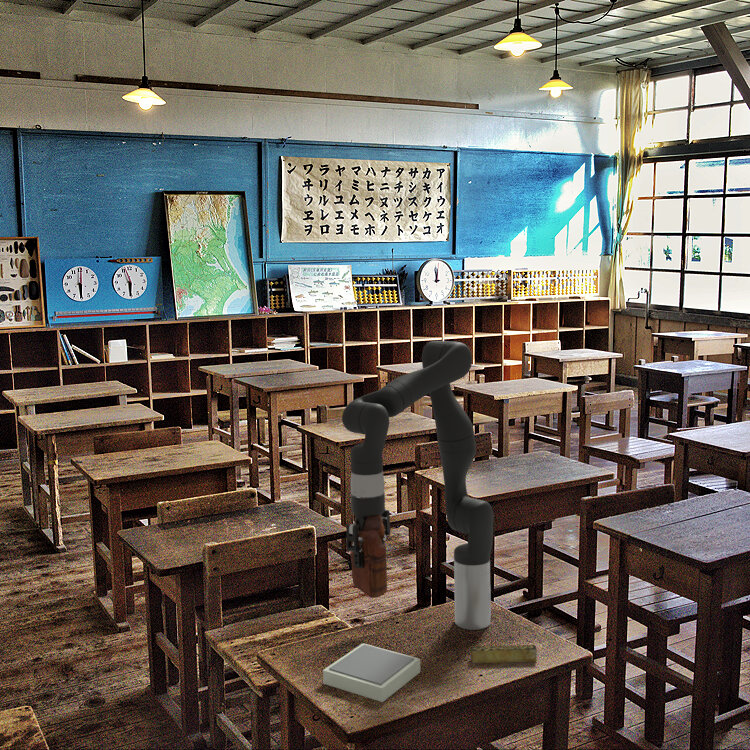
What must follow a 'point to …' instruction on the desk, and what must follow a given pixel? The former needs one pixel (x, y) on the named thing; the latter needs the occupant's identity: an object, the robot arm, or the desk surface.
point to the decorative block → (504, 654)
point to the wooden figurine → (372, 559)
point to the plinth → (371, 672)
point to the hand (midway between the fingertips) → (369, 561)
